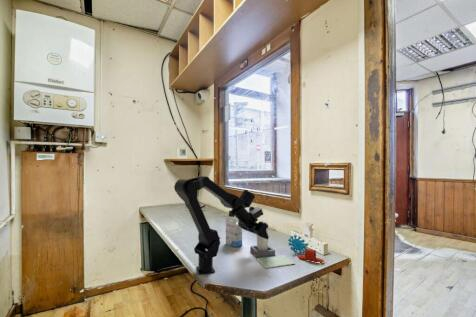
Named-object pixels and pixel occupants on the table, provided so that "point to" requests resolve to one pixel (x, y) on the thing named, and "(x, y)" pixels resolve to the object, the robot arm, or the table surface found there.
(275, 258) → the pad
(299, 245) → the gear
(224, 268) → the table surface
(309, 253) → the bracket
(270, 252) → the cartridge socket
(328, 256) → the table surface
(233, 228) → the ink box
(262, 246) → the cylinder
